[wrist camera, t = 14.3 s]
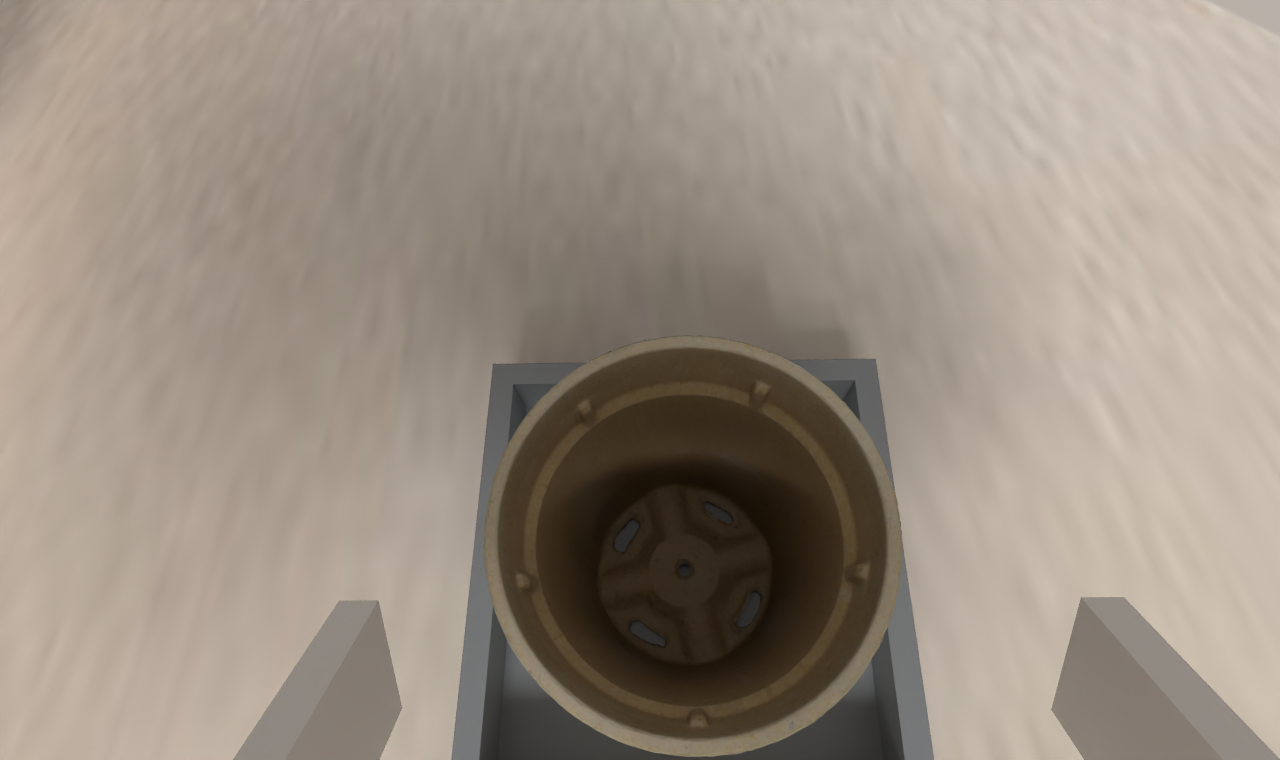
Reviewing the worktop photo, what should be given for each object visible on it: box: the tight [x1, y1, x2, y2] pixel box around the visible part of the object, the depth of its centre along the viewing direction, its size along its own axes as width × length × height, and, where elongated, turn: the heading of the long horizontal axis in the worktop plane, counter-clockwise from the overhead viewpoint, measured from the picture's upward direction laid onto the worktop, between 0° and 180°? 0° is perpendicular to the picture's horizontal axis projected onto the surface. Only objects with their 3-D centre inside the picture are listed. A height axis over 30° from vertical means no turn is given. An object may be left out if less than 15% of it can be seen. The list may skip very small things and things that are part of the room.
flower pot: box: [483, 336, 902, 757], centre depth 19 cm, size 9×9×9 cm
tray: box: [452, 359, 934, 760], centre depth 22 cm, size 14×14×3 cm
